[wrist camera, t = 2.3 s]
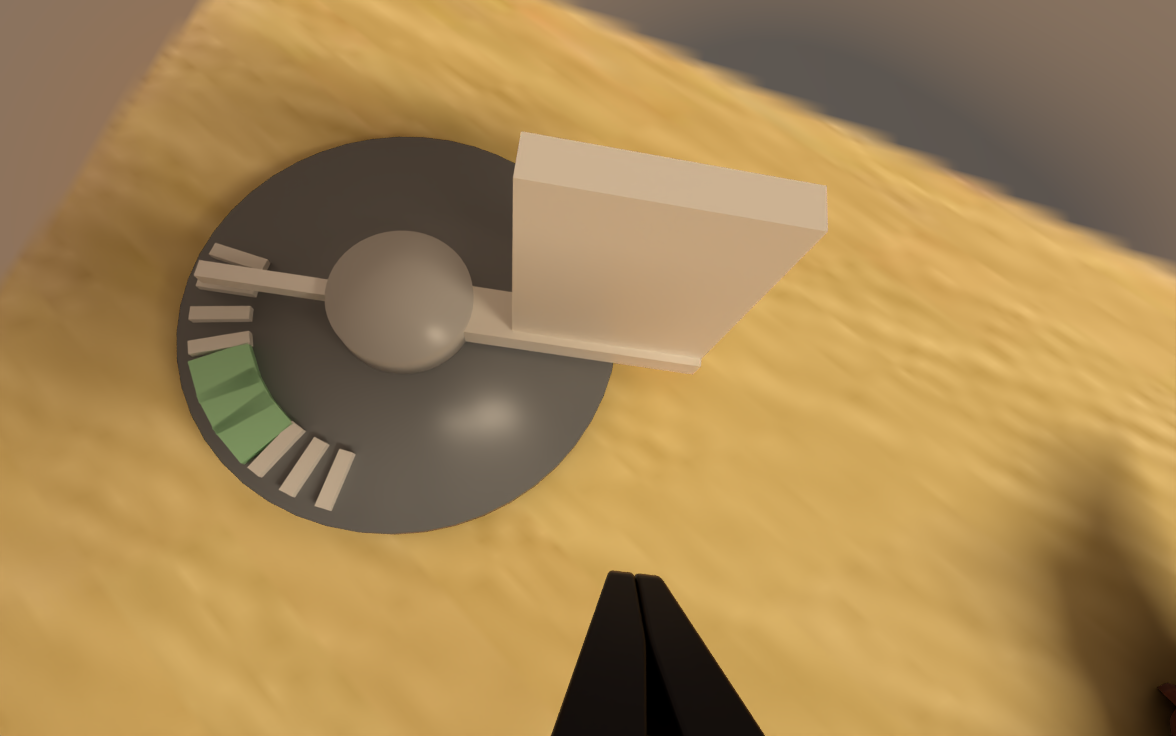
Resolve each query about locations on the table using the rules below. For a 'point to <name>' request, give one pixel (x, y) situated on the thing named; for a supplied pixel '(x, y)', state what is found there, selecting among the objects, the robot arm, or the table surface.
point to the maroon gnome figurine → (1172, 693)
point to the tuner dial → (350, 387)
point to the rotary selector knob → (574, 264)
